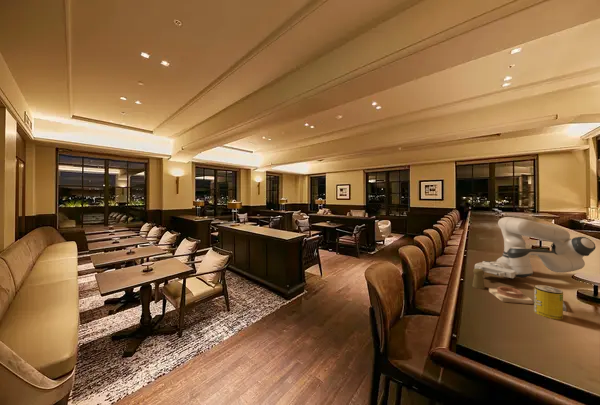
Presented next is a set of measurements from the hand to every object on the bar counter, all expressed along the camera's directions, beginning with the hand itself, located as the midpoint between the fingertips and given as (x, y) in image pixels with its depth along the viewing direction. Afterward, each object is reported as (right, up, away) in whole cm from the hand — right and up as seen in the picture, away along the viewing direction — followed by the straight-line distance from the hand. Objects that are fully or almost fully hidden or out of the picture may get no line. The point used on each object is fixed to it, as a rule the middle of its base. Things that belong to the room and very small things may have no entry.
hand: (488, 272), depth 142 cm
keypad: (+9, -8, -26) cm, 29 cm away
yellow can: (-4, -8, -37) cm, 38 cm away
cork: (-11, -7, -5) cm, 14 cm away
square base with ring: (-5, -7, -20) cm, 22 cm away
